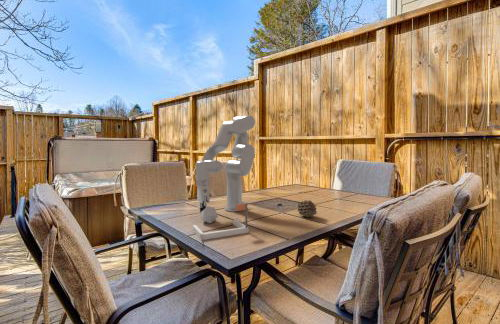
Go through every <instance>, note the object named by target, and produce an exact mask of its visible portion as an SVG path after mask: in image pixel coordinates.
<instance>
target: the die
mask: <svg viewBox="0 0 500 324" xmlns="http://www.w3.org/2000/svg"><path fill="white" fill-rule="evenodd" d="M199 213H200V212H199ZM200 216H201V218H202V222H203V223H206V222H207V224H210V223H211V224H212V223H213V222H214V221H215V220H216V219H218V218H219V217H218V213H217V210H216V208H215V207H212V206H208V205H207V206H206V208H205V209H204V210H203V211H202V212H201V213H200Z"/></svg>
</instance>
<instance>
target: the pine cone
mask: <svg viewBox="0 0 500 324" xmlns="http://www.w3.org/2000/svg"><path fill="white" fill-rule="evenodd" d="M293 204H294V206H295V207H296V210H297V212H298V214H299V215H300V216H303V217H306V218H307V217H308V218H309V217H313V216H315V215H317V213H318V211H317V205H316V204H315V202H313V201H312V200H309V199H305V200H302V201H301V202H299V203H298V204H297V202H296V201H294V202H293Z"/></svg>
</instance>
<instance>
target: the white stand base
mask: <svg viewBox="0 0 500 324" xmlns="http://www.w3.org/2000/svg"><path fill="white" fill-rule="evenodd" d="M240 210H242V211H244V212H245V213H244V216H245V217H244V222H245V223H243V222H241V221H239V220H238V219H233V221H232V222H233V224H232V225H233V226H235V228H229V229H223V230H221V229H220V230H216V231H209V232H204V231H202V230H201V229H200V228H199V227H198V226H197V224H193V225H192V231H193V233H196V234H195V235H196V236H197V237H198V238H199V240H200V241H205V240H211V239H216V238H217V239H218V238H224V237H230V236H235V235H243V234H248V233H249V226H248V205H247V203H246V202H245V203H244V204H236V211H235V212H241V211H240Z"/></svg>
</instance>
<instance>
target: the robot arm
mask: <svg viewBox="0 0 500 324" xmlns="http://www.w3.org/2000/svg"><path fill="white" fill-rule="evenodd" d="M255 124H256V119H255V118H254V116H253V115H249V114H246V115H238V116H234V117H233V118H232V120H227V121H223V123H222V124H221V125H220V128H219V131H218V133H217V135H216V137H215V141H214V142H213V143H212V144H211V146H210V147H208V148H207V150H206V151H205V152H204V154H203V157H202V159H201V160H198V161H196V162H195V186H196V188H197V190H196V198H197V202H199V213H201V212H202V211H203V210H204V209H205V208H206V207H207V206H208V204H209V203H210V202H211V199H210V196H211V195H210V188H209V186H210V174H218V173H220V172H221V171H222V170H223V164H222V162H221V161H220V160H215V158H216V156H217V155H218V154H220V153H221V152H224V151H225V150H226V149H228V148H229V145H230V143H231V141H232V139H233V138H232V137H233V135H235V139H234V143H233V145H232V149H231V156H232V157H233V158H234V159H229V160H228V161H226V163H225V165H224V172H225V177H226V206H225V207H224V211H227V212H237V211H236V204H244V203H247V206H249V204H250V202H249V201H243V193H242V192H243V186H242V185H243V181H242V178H241V177H245V176H248V175H249V174H250V172H251V170H252V167H253V163H254V158H255V155H256V152H255V151H256V150H255V147H254V146H253V145H252V144H250V143H249V140H250V139H249V134H248V131H250V130H252V129H253V128H254V127H255ZM241 211H243V210H240V211H239V212H241Z"/></svg>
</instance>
